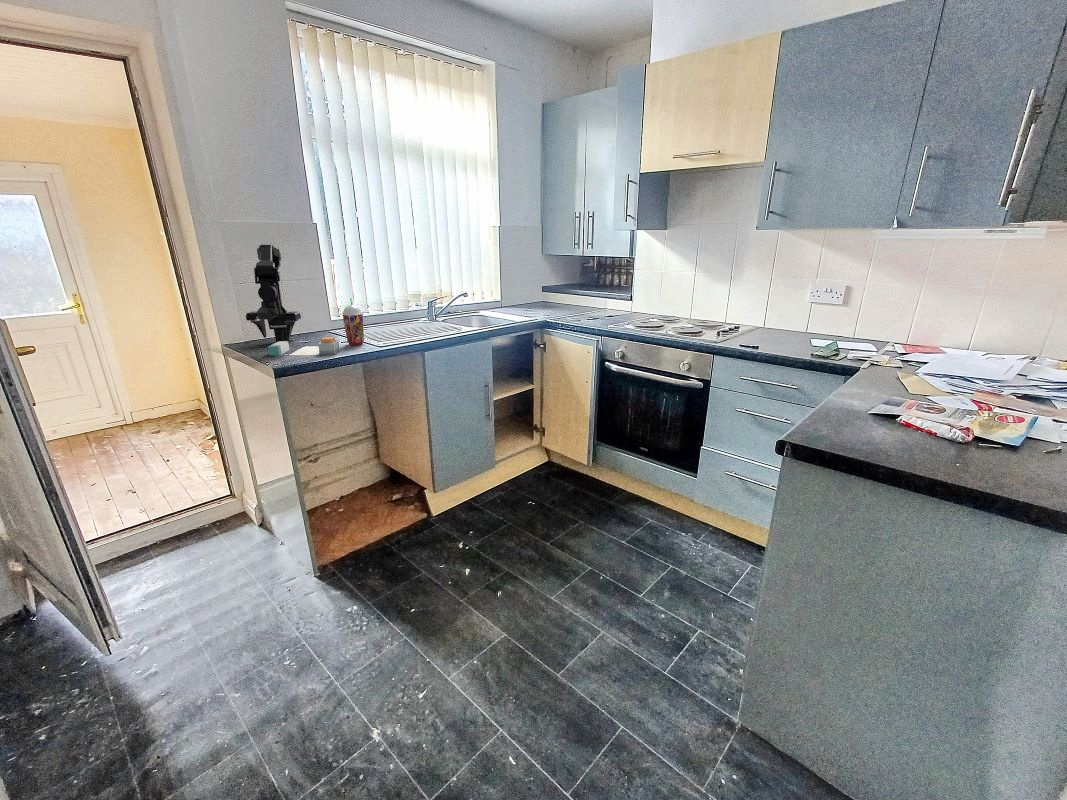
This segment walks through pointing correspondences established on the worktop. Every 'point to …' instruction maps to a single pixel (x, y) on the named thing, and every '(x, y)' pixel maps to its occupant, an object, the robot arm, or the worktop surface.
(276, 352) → the milk carton
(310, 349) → the paper sheet
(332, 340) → the button
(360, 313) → the smoothie
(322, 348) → the button housing
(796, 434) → the worktop surface
